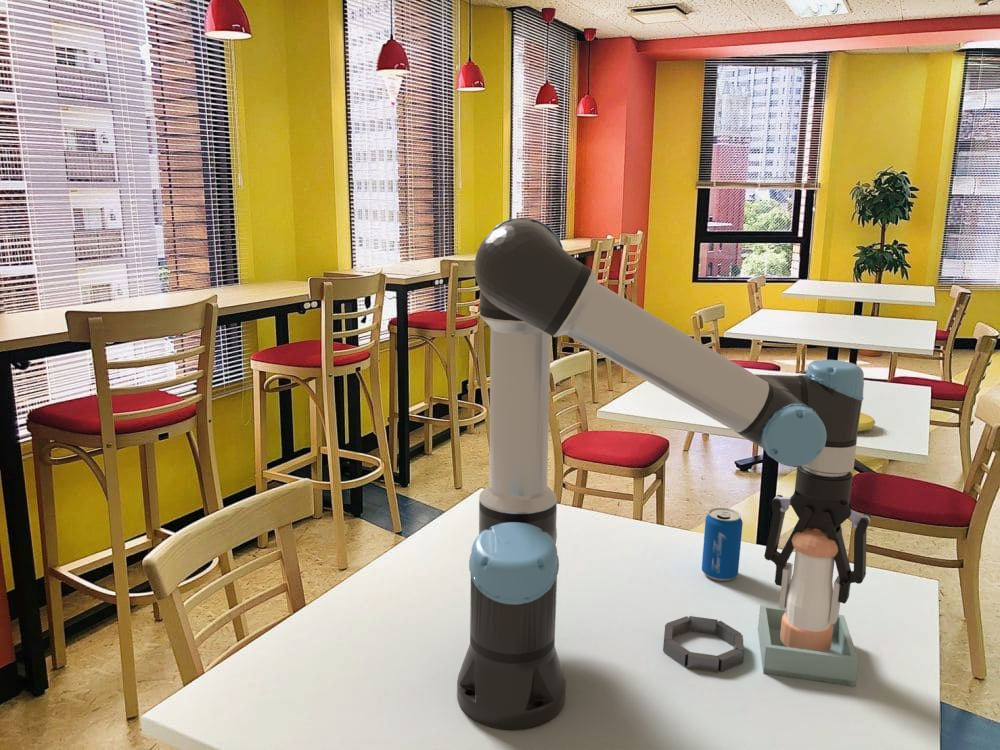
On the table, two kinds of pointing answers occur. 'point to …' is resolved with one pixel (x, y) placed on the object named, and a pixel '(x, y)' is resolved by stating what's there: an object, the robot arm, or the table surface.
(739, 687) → the table surface
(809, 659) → the bin
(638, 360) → the robot arm
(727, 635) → the collar
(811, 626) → the salt shaker
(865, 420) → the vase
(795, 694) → the table surface
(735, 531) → the beverage can
